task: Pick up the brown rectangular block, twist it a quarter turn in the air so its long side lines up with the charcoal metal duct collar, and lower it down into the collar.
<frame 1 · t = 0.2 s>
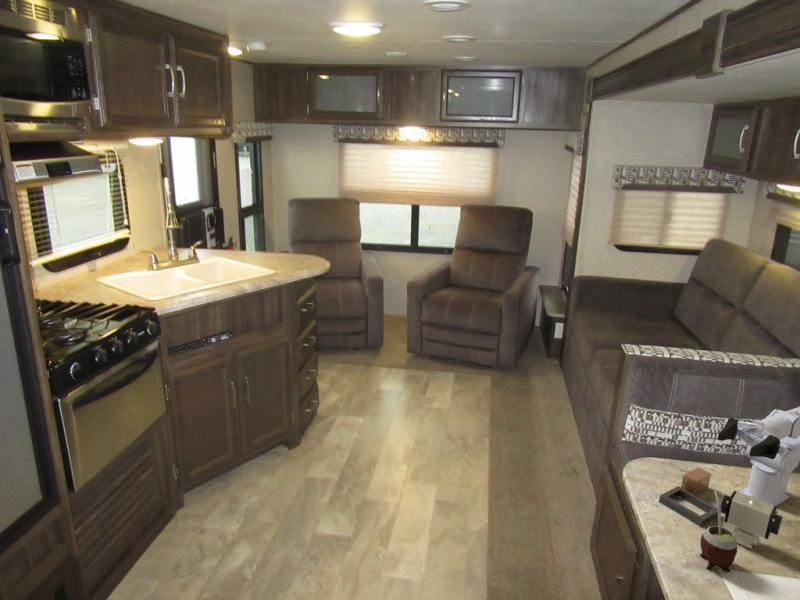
hand: (735, 444, 136), 21 cm above the table, tool horizontal, fingers open, 7 cm apart
duct collar: (688, 509, 145), on the table
brown rectangular block: (694, 490, 153), on the table
mate gourd: (712, 562, 128), on the table
pneumatic valve: (744, 542, 134), on the table
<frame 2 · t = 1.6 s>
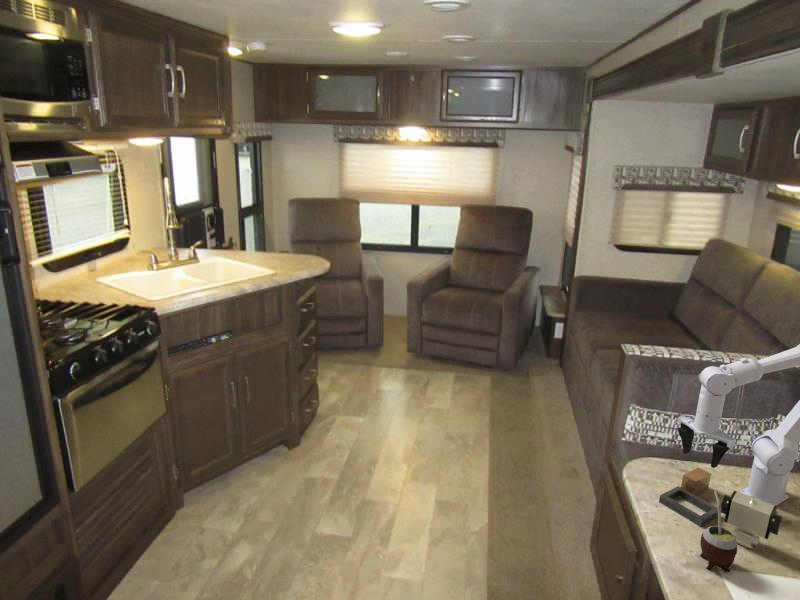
hand: (700, 459, 151), 9 cm above the table, tool pointing down, fingers open, 7 cm apart
nothing on the table moved.
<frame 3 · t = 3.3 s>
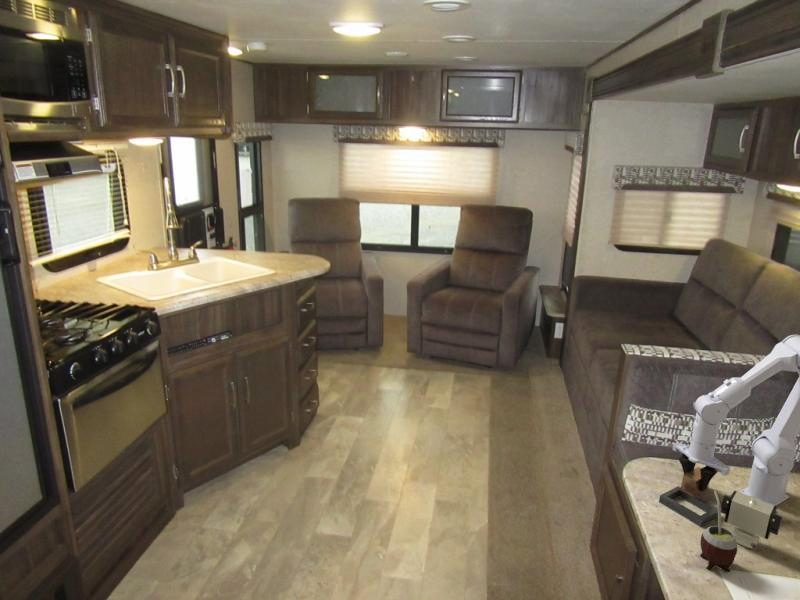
hand: (695, 485, 153), 1 cm above the table, tool pointing down, fingers closed on brown rectangular block, 3 cm apart
brown rectangular block: (694, 490, 153), on the table, touching gripper
everything else where it was.
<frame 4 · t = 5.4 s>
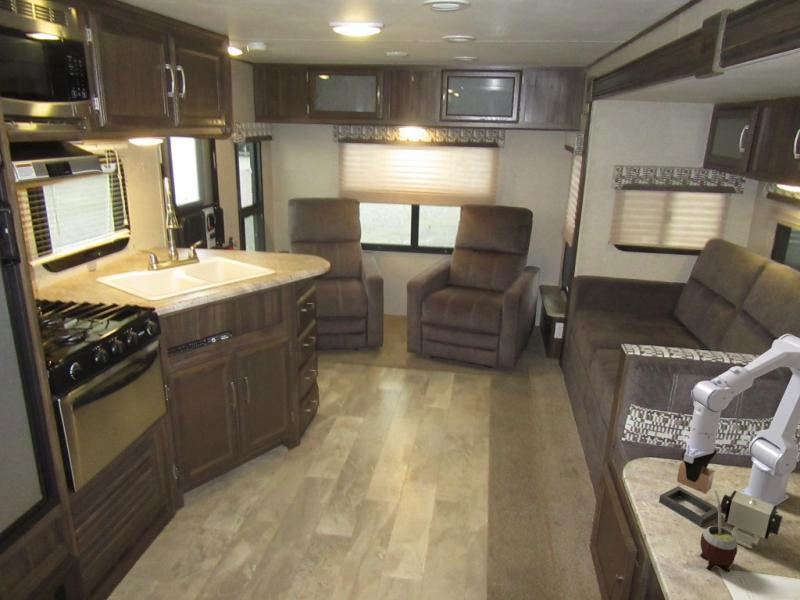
hand: (694, 477, 144), 8 cm above the table, tool pointing down, fingers closed on brown rectangular block, 3 cm apart
brown rectangular block: (693, 484, 145), point 6 cm above the table, touching gripper
everything else where it was.
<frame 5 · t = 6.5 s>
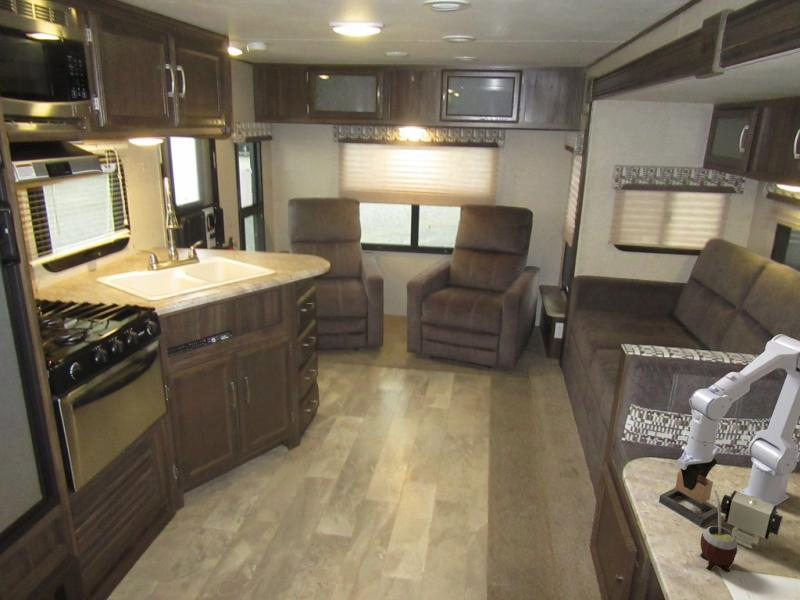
hand: (692, 485, 144), 7 cm above the table, tool pointing down, fingers closed on brown rectangular block, 3 cm apart
brown rectangular block: (692, 494, 144), point 5 cm above the table, touching gripper
everything else where it was.
when the fingers open (3 cm above the table, at t = 7.6 s): brown rectangular block drops 1 cm, resting in duct collar.
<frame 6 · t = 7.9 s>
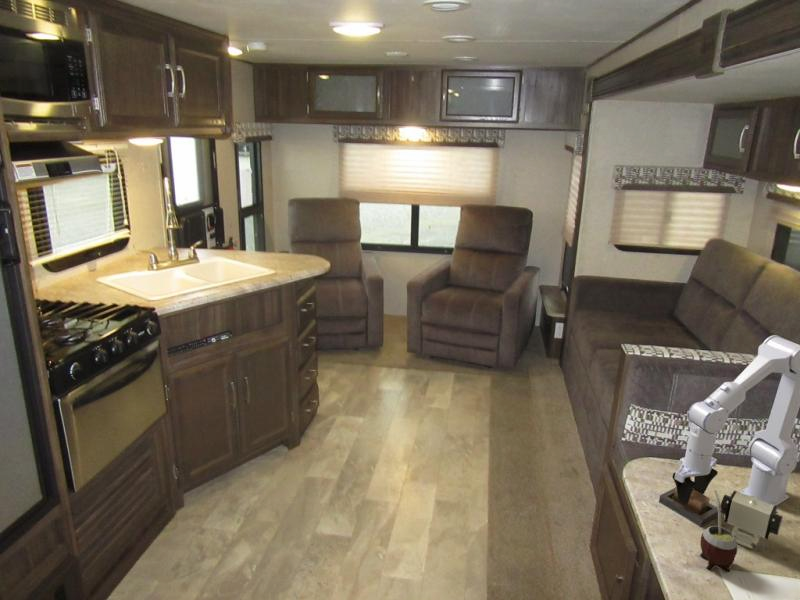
hand: (690, 497, 145), 3 cm above the table, tool pointing down, fingers open, 6 cm apart
brown rectangular block: (689, 509, 145), resting in duct collar
everything else where it was.
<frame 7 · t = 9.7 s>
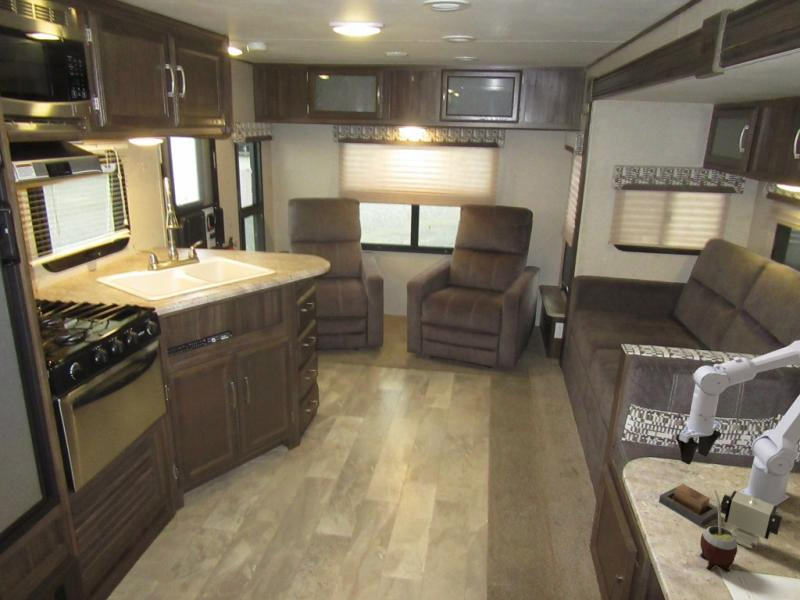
hand: (694, 458, 151), 9 cm above the table, tool pointing down, fingers open, 7 cm apart
nothing on the table moved.
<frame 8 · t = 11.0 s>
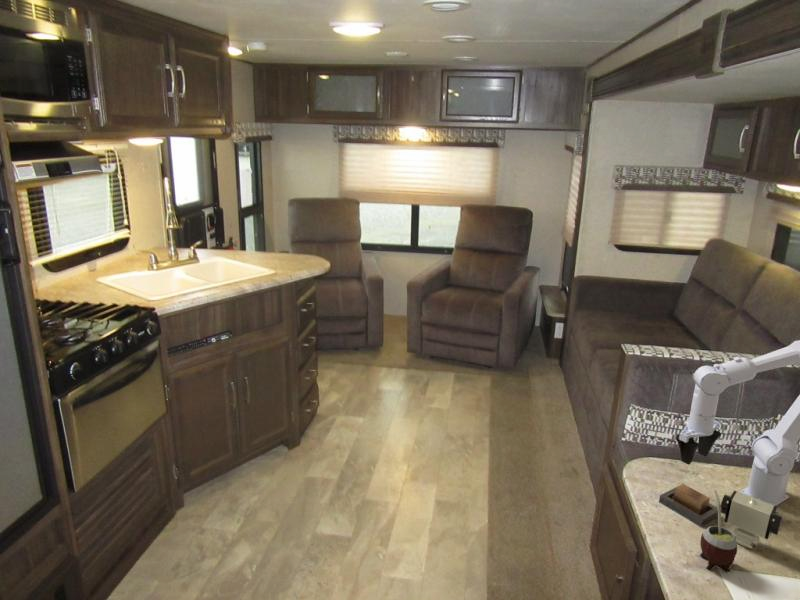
hand: (694, 458, 151), 9 cm above the table, tool pointing down, fingers open, 7 cm apart
nothing on the table moved.
at the end: brown rectangular block 0.2 cm off-centre on the duct collar, point 0.0 cm above the duct collar's base; brown rectangular block tilted 0°; the gripper is holding nothing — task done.
